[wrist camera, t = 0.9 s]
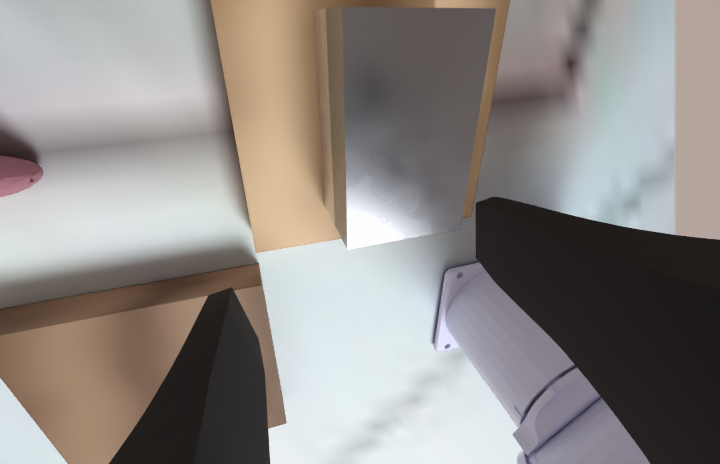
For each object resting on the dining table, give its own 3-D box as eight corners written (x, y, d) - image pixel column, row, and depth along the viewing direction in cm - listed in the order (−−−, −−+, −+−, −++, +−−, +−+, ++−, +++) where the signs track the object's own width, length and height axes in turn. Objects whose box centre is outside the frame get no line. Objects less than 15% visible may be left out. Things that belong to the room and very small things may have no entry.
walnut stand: (258, 263, 20) (261, 285, 18) (282, 397, 26) (286, 423, 24) (-4, 309, 17) (-29, 341, 15) (93, 450, 23) (83, 483, 21)
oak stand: (488, -41, 16) (518, -47, 14) (453, 202, 22) (471, 216, 20) (202, -55, 13) (198, -66, 11) (253, 232, 19) (255, 252, 17)
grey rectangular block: (434, 11, 14) (496, 8, 11) (418, 192, 19) (460, 229, 15) (312, 10, 13) (342, 6, 10) (324, 205, 17) (347, 249, 14)
